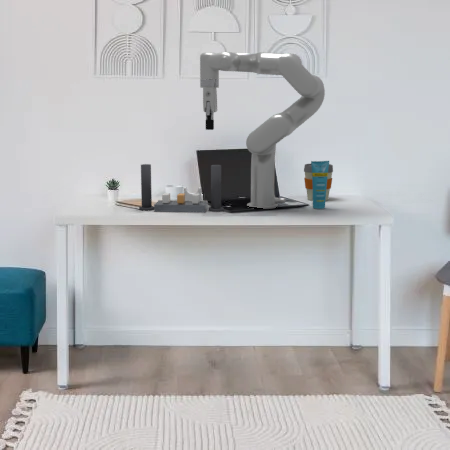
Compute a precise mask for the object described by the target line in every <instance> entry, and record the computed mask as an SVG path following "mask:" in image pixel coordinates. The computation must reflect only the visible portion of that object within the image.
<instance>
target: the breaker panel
mask: <svg viewBox="0 0 450 450" xmlns="http://www.w3.org/2000/svg"><path fill="white" fill-rule="evenodd" d="M153 206H154V210H153V211H154V212H156V213H158V212H160V213H205V212H206V211H207V210H208V209H209V206H208V200H203V201H200V202H199V203H198V204H196V203H192V201H191V200H185V202H184V203H177V199H175V200H174V199H170V202H169V203H162V199H158V200H157V202H156V203H154V205H153Z"/></svg>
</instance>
